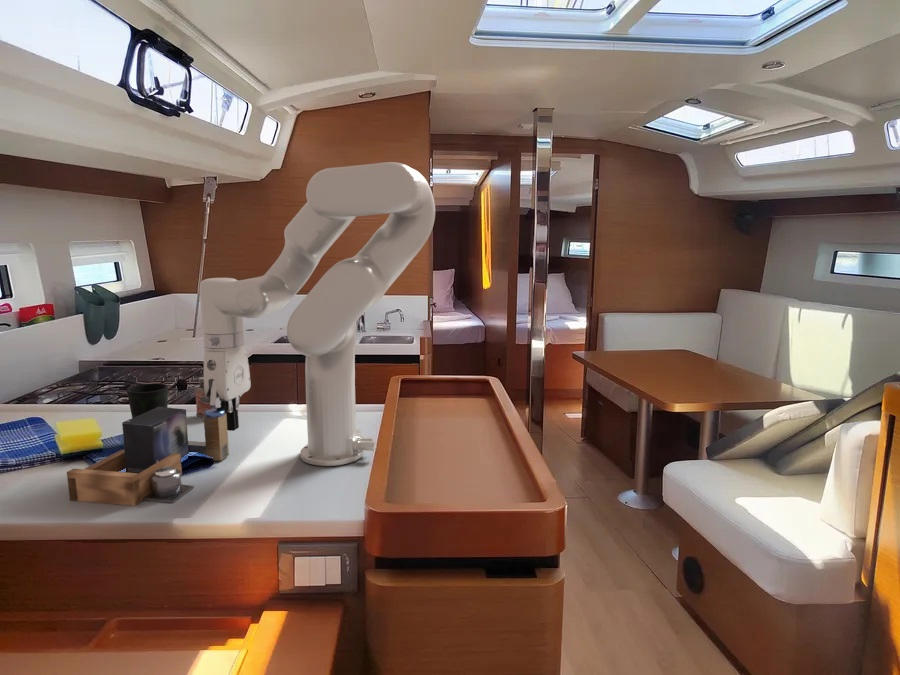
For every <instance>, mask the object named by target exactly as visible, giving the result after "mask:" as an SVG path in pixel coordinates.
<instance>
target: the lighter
mask: <svg viewBox="0 0 900 675" xmlns="http://www.w3.org/2000/svg"><path fill="white" fill-rule="evenodd" d="M198 383H199V384H198V385H195V386H193V388H194V392H195V405H196V407H195V408H196V414H195V415H196V419H201V420H204V417H205V411H207V410H209V409H215V408H211V407H210V400H209V399H207V398H206V396H205V391H204V376H203V377H202V376H201V377H198Z"/></svg>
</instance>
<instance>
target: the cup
mask: <svg viewBox="0 0 900 675" xmlns="http://www.w3.org/2000/svg"><path fill="white" fill-rule="evenodd" d="M126 393H127V400H128V404H129V409H130V413H131V419H132V418H134V417H136V416H139V415H141V414H143V413H146V412H148V411H150V410H153V409H155V408H157V407H167V408H168V403H169V402H168V396H169V395H168V394H169V386H168V385H167V384H165V383H161V382H160V383H159V382H157V383H155V382H154V383H153V382H152V383H144V384H143V383H142V384H138V385H133V386H131V387H129V388H127V390H126Z"/></svg>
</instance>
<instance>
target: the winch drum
mask: <svg viewBox="0 0 900 675" xmlns="http://www.w3.org/2000/svg"><path fill="white" fill-rule="evenodd" d="M151 483H152V492H151V493H150V494H148V495H147V496H145V497H144V498H143V501H144V502H145V501H146V502H147V501H148V502H155V503H156V502H157V503H158V502H159V503H167V504H168V503H170V504H174V503H175V502H176V501H178V500H179V499H180V498H182V497H183V496H186V494H188V493H189V492H190V491H191V490H193V489H194V488H195V487H194V485H191V484H190V485H188V484H182V475H181V471H180V470H178V469H176V468H174V467H165V468H161V469H158V470H157V471H156V472H155V473H153V474H152V475H151ZM143 501H142V502H143Z"/></svg>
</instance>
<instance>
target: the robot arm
mask: <svg viewBox="0 0 900 675" xmlns="http://www.w3.org/2000/svg"><path fill="white" fill-rule="evenodd" d="M306 186H307V187H306V191H305V197H306V201H307V202H306V203H305V204H304V205H303V206H302V207H301V208H300V210H299V211H298V212H297V213H296V214H295V216H294V217H293V218H292V219H291V220H290V222H288V224H287V225H286V226H285V228H284V232H283V233H284V235H283V236H284V246H283V249H282V251H281V253H280V254H279V256H278V258H277V259H276V261H275V262H274V263H273V264H272V265H271V267H270V268H269V269H267V271H266V272H265V274H263V275H261V276H257V277H256V276H255V277H251V278H246V279H240V280H237V279H236V278H232V277H212V278H206V279H203V280H202V281H201V282H200V284H199V299H200V301H199V302H200V313H201V325H202V326H201V327H202V340H203V350H204V355H203V377H204V391H205V396H206V398H207V399H209V400H210V407H211V408H221V409H224V410H225V413H226V417H227V431H228V432H229V431H234V432H235V431H236V430H238V429H239V428H240V424H239V410H238V409H240V408H239V407H240V398H241V397H242V395H244V394H245V393H246V392H248V391H250V389H251V385H252V384H251V382H252V381H251V373H250V364H249V359H248V358H249V357H248V354H247V353H248V352H247V349H246V345H245V337H244V322H243V318H246V319H258V318H260V317H264V316H267V315H269V314H272V313H275V312H278V311H280V310H282V309H283V308H284V307H286V306H287V305H288V304H289V302H291V301H292V299H293V298H294V297H295V296H296V295H297V293H298V292H299V291H300V290H301V289H302V288H303V287H304V286H305V284H306V283H307V282H308V280H309V279H310V277H311V276H312V274H313V272H314V271H315V269H316V267H317V266H318V264H319V263H320V261H321V259H322V258H323V256H324V255H325V254H326V253H327V252H328V250H329V249H330V248H331V247H332V246H333V245H334V243H335V242H336V241H337V240H338V239H339V237H340V236H341V235H342V234H343V232H345V231H346V229H347V228H348V227H349V226H350V225H351V224H352V222H353V221H355V219H356V217H365V216H374V215H386V214H387V215H388V217H387V218H386V220H385V222H384V223H383V224H382V225H381V226H379V228H378V229H377V230H376V231H375V232H374V233H373V235H372V236H371V237H370V238H369V240H368V241H367V242H366V244H365V245H364V246H363V247H362V248H361V249H359V251H358V252H357V253H356V254H355V255H354V256H353V257H348V258H345V259H343V260H340V261H337V262H336V263H335V264H333V265H332V266H331V267H330V268H329V269H327V271H326V272H325V273H324V274H323V276H321V278H320V279H319V280H318V281H317V282H316V284H315V285H314V286H313V288H312V289H311V290H310V291H309V292H308V293H307V294H306V296H305V297H304V298H303V299H302V301H301V302H300V303H299V304H298V305H297V307H296V308H295V309H294V310H293V311H292V313H291V315H290V316H289V319H288V321H287V324H286V335H287V336H286V337H287V340H288V342H289V345H290V346H291V347H292V348H293V349H294V350H295V351H296V352H298V353H299V354H301V355H303V356H305V361H304V362H305V370H304V372H305V373H304V374H305V398H306V399H305V401H306V403H305V404H306V422H307V423H306V426H307V429H306V430H307V444H306V445H304V446H303V447H302V448H301V449H300V451H299V453H300V459H301V460H302V461H303V462H305V463H306V464H310V465H314V466H317V467H318V466H319V467H320V466H321V467H333V466H342V465H347V464H350V463H351V464H352V463H353V462H355V461H357V460H359V459H360V458H362V457H363V456H364V455H365V451H367V452H376V450H375V447H376V448H377V441H375V439H374V437H363V436H362V434H361V429H357V421H356V420H357V418H356V417H357V415H356V385H355V384H356V380H355V379H356V369H355V367H356V365H355V364H356V363H355V362H356V360H355V358H356V345H357V342H356V341H357V321H358V320H359V319H360V318H361V316H362V315H363V314H364V313H365V312H366V311H367V310H368V309H369V308H371V307H372V306H374V305H376V303H378V302H379V301H380V300H382V298H383V296H384V295H385V294H386V292H387V291H388V290H389V288H390V287H391V286H392V285H393V284H394V283H395V281H397V279H398V278H399V277H400V276H401V275H402V273H403V272H404V271H405V269H406V268H407V267H408V266H409V264H410V263H411V262H412V261H413V259H415V257H416V256H417V254H418V253H419V252H420V251H421V250H422V248H423V247H424V246H425V244H426V243H427V241H428V239H429V238H430V236H431V233H432V231H433V227H434V224H435V220H436V204H435V202H436V201H435V198H434V194H433V192H432V189H431V186H430V185H429V182H428V181H427V179H426V178H425V177H424V176H423V175H422V173H421V172H419V171H418V170H416V169H414V168H412V167H411V166H408V165H407V164H404V163H401V162H398V161H397V162H395V161H387V162H378V163H377V162H376V163H368V164H361V165H360V164H358V165H351V166H349V165H348V166H340V167H339V166H338V167H337V166H336V167H327V168H324V169H322V170H319V171H317V172H315V173H314V175H313V176H312V177H311V178H310V180H309V181H308V182H307V185H306Z"/></svg>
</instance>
